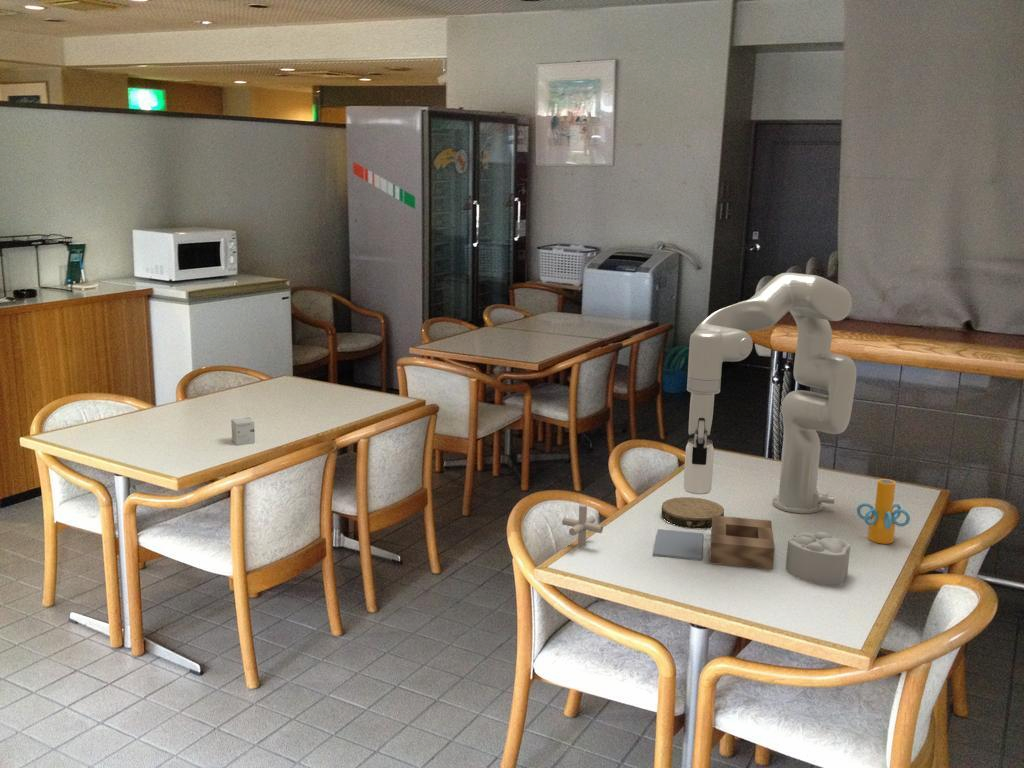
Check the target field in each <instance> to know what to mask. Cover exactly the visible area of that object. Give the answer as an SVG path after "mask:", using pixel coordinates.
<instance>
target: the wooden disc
mask: <svg viewBox="0 0 1024 768" xmlns="http://www.w3.org/2000/svg"><path fill="white" fill-rule="evenodd" d="M660 514H661V515H662V516H661V515H660V516H661V518H662V517H663V518H662V520H664V519H665V520H666V521H665V520H664V521H665V522H667V521H668V522H670V523H669V524H671V523H672V524H671V525H673V524H675V525H674V526H676V525H678V526H677V527H680V526H682V527H681V528H685V527H687V528H686V529H693V528H701V529H702V528H705V529H712V528H711V527H712V515H714V516H725V509H724V507H723V506H722V504H719V503H717V502H716V501H713V500H710V499H704V498H700V497H691V496H689V497H683V496H681V497H674V498H670V499H667V500H665V501H663V502H662V504H661V513H660ZM668 522H667V523H668ZM702 530H703V529H702Z"/></svg>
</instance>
